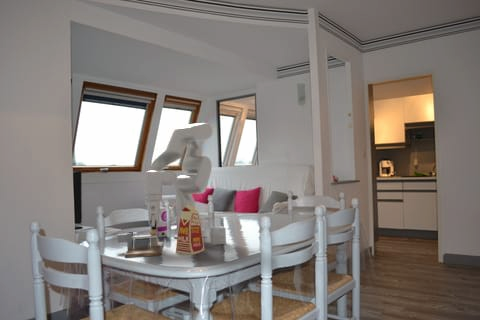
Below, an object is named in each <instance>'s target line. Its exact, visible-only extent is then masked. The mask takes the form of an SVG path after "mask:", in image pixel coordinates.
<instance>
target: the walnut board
mask: <svg viewBox="0 0 480 320" xmlns="http://www.w3.org/2000/svg"><path fill="white" fill-rule="evenodd" d="M163 247H164V241H158V246H151V242H150V247H149V249H142V250H134V243H133V248H132V250H128V249H127V250H126V252H125V254H124V258H137V257H138V258H139V257H152V256H162V253H163Z"/></svg>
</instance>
